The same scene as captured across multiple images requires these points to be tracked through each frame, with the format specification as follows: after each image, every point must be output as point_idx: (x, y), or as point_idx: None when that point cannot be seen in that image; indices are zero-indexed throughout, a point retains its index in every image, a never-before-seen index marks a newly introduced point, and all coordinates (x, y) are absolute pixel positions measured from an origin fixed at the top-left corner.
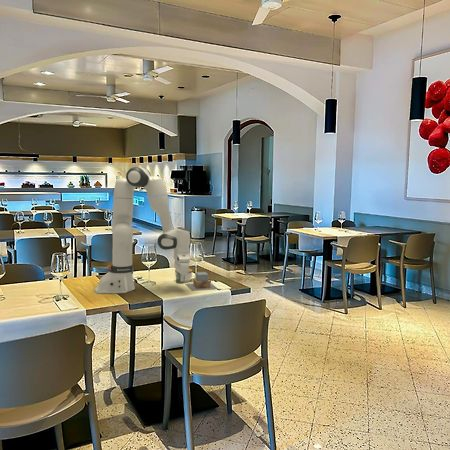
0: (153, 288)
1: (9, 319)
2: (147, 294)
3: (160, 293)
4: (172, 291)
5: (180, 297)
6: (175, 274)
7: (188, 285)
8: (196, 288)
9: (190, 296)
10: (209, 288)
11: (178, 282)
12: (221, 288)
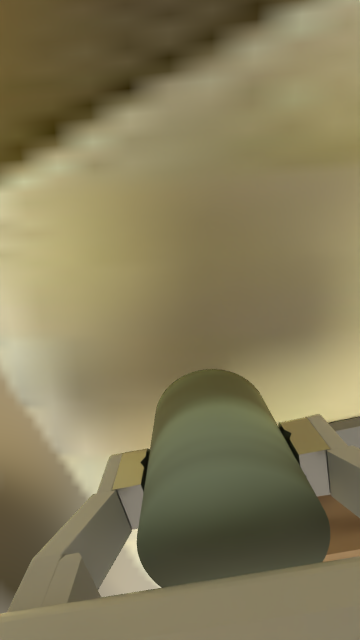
0: (333, 81)
1: None
2: (78, 22)
3: (126, 184)
4: (199, 303)
5: (15, 373)
6: None
7: (350, 442)
8: None
9: (53, 444)
10: None
11: (158, 408)
12: None
